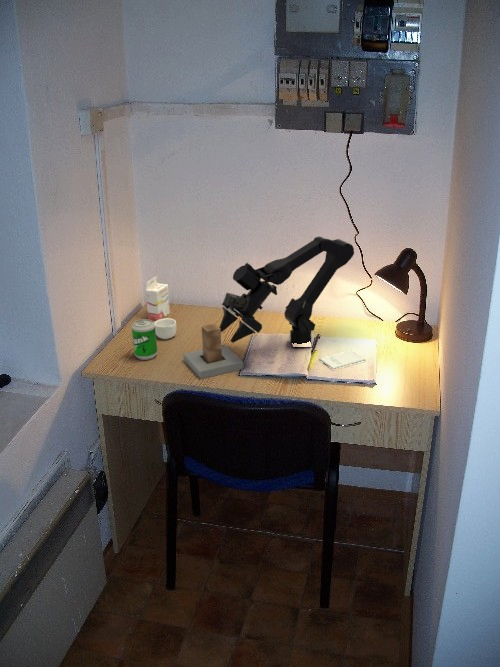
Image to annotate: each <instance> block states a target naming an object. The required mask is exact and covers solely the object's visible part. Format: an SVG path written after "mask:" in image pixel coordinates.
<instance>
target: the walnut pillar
mask: <svg viewBox="0 0 500 667" xmlns="http://www.w3.org/2000/svg"><path fill="white" fill-rule="evenodd" d="M219 327H220V326H218V325H217V324H216V323H212V324H207V325H201V336H202V338H201V339H202V349H203V359H204V361H205V362H206V363H207V364H209V363H213V362H218V361H222V349H221V345H222V332H221V329H220V328H219Z"/></svg>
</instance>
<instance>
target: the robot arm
mask: <svg viewBox="0 0 500 667" xmlns="http://www.w3.org/2000/svg"><path fill="white" fill-rule="evenodd" d="M323 252H326V253H325V258H324V259H325V260H324V262H323V263H322V265H321V266H320V267H319V269H318V270H317V272H316V274H315V275H314V277H312V278H313V279H312V280H311V281H310V283H309V284H308V286H307V287H306V288H305V290H304V292H303V293H302V294H301V295H300V297H298V298H297V299H295V298H291V299H290V301H289V303H288V305H286V306H285V310H284V318H285V319H286V321H287V322H288V323H289V325H291V330H289V343H290V342H291V343H293V344H294V343H297V344H302V343H307V342H309V341H310V342H311V343H312V331H313V332H314V331H315V327H316V324H315V323H314V322H313V321H312V320H311V316H312V314H313V307H314V305H315V303H316V302H317V300H318V298H319V297H320V295H321V294H322V293H323V291H324V290H325V288H326V287H327V285H328V284H329V282H330V281H331V279H332V278H333V276H334V275H335V274H336V272H337V271H338V270H339V269H340V268H342V267H344V266H346V265H347V264H348V263H349V261H350V260H352V258H353V256H354V255H355V248H354V246H353V245H352V244H351V243H350V242H347V241H344V240H343V239H340V238H336V239H329V238H325V237H322V236H316V237H314V238H313V240H311V241H310V242H308V243H307V244H305V245H304V246H301V247H300V248H298V249H297V250H296V251H294V252H292V253H291V254H289V255H287V256H285V257H283V258H280V259H279V258H278V259H275V260H273V261H270V262H268V263H267V264H265V265H264V266H262V267H259V268H253V266H252V265H251V264H250V263H248V262H246V263H245V264H244V265H242V266H239V267H238V268H236V269H235V271H234V272H233V275H232V279H233V281H234V282H235V283H237V284H238V285H239V286H240V287H242V288H243V289H244V290H245V291H248V292H247V293H245V292H244V293H242V294H241V296H240V295H236V294H233V293H230V292H226V294H225V296H224V298H223V302H222V304H221V305H222V307H221V308H222V310H223V316H222V320H221V323H220V324H219V326H218V327H219V328H220V329H221V333H223V332H224V331H225V330H227V328H229V327H230V326H231V325H232V324H233V323H235V322H236V321H238V327H237V329H236V331H235V332H234V334H233V336H232V337H231V338H230V342H231V344H232V343H233V344H234V343H235V342H239V341H240V340H241V339H244V338H246V337H248V336H250V335H252V334H254V335H255V334H256V333H258V334H259V333H260V332H261V330H262V329H263V325H262V323H260V321H258V320H257V319H256V318H255V314H256V312H257V311H258V310H262V309H263V308H264V307H263V306H262V305H263V304H264V302H265V301H266V299H268V297H269V296H270V295H271V293H272V294H273V295H275V296H277V295H278V291H277V286H279V285H282V284H283V283H285V282H286V281H287V280H288V279H289V278H290V277H291V275H292V273H293V272H294V271H295V270H296V269H298V268H299V267H301V266H303V265H304V264H306V263H307V262H308V261H311V260H312V259H313V258H315V257H316V256H318V255H320V254H322V253H323ZM270 283H271V284H270ZM238 317H239V318H240V319H239V318H238ZM238 319H239V320H238ZM291 343H290V344H291Z"/></svg>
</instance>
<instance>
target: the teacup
mask: <svg viewBox="0 0 500 667" xmlns="http://www.w3.org/2000/svg"><path fill="white" fill-rule="evenodd" d="M153 323H154V324H155V330H156V337H157V338H159V339H161V340H169V338H170V339H172V338H173V337H174V336H175V335H176V333H177V321H176V320H175V319H173V318H170V317H167V318H165V317H164V318H162V319H159V320H154V322H153Z"/></svg>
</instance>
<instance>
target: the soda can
mask: <svg viewBox="0 0 500 667" xmlns="http://www.w3.org/2000/svg"><path fill="white" fill-rule="evenodd" d="M131 333H132V334H131V335H132V336H131V337H132V345H133V354H134V356H135V357H136V358H137V359H139V360H141V361H147V360H152V359H154V358H155V357H156V355H158V344H157V342H158V341H157V335H156V330H155V324H154V322H153V320H151V319H147V318H145V319H144V318H143V319H138V320H135V321H134V322H133V324H131Z"/></svg>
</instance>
